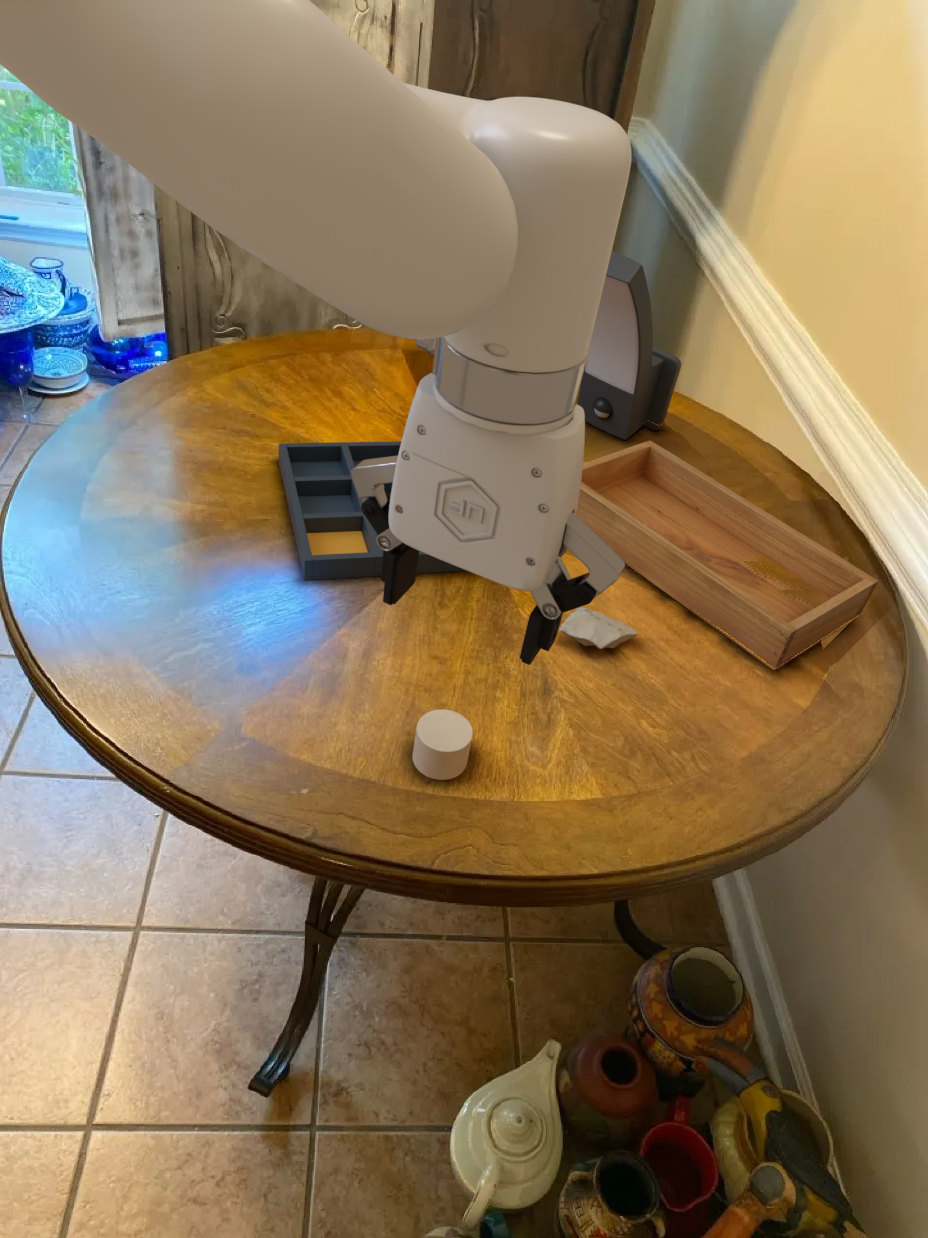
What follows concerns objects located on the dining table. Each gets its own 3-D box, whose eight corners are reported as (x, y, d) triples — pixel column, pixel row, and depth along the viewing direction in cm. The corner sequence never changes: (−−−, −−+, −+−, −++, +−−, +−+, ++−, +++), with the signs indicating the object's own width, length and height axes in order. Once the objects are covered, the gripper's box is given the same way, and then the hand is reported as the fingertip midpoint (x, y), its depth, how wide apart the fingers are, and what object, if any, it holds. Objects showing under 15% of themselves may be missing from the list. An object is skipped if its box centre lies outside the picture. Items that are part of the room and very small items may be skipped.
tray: (548, 511, 102) (558, 468, 98) (638, 478, 110) (651, 436, 107) (769, 678, 86) (792, 633, 82) (855, 623, 94) (879, 580, 90)
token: (419, 783, 71) (423, 754, 68) (406, 740, 74) (411, 712, 72) (473, 776, 72) (479, 748, 70) (459, 735, 75) (464, 706, 73)
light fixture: (519, 435, 114) (558, 237, 99) (596, 396, 125) (642, 213, 110) (590, 472, 110) (643, 271, 94) (663, 429, 121) (721, 242, 105)
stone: (581, 611, 90) (547, 639, 86) (586, 592, 88) (552, 620, 84) (636, 641, 87) (605, 671, 83) (642, 622, 86) (610, 652, 82)
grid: (304, 580, 87) (304, 560, 86) (278, 461, 102) (278, 443, 101) (513, 568, 93) (517, 549, 92) (459, 457, 108) (462, 439, 107)
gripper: (326, 347, 47) (317, 602, 58) (643, 459, 42) (568, 712, 53) (398, 304, 52) (377, 544, 63) (686, 399, 48) (609, 640, 59)
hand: (464, 621), depth 58 cm, fingers open, 9 cm apart
